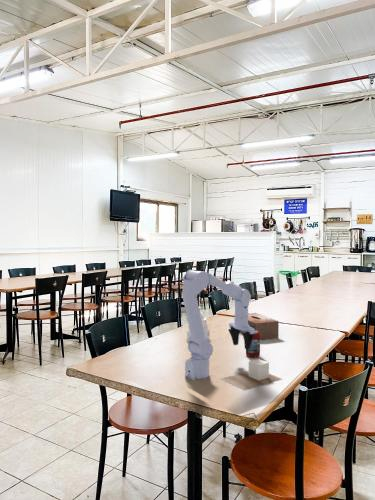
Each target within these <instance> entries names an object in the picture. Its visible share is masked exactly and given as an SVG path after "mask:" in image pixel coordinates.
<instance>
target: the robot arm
mask: <svg viewBox="0 0 375 500" xmlns="http://www.w3.org/2000/svg"><path fill="white" fill-rule="evenodd" d="M182 281H183V283H182V285H183V286H182V291H181V296H182V300H183V306H184V310H185V315H186V318H187V324H188V325H189V328H190V333H191V336H190V337H189V338H188V340H189V341H188V345H187V349H188V351H189V352H190V355H191V357H190V358H188V359H186V360H185V362H184V363H185V364H184V368H185V369H184V371H185V372H184V373H185V374H184V376H185V377H187V378H188V379H191V380H193V381H194V380H199V379H206V378H208V377H209V376H210V359H211V357H212V355H213V352H214V346H213V345H212V344H211V342H210V340H209V338H208V337H207V336H206V335H205V333H204V329H203V324H202V320H201V315H200V311H201V310H200V311H199V307H200V306H199V300H198V295H199V294H200V293H201V292H202V291H203V290H204V289H206V287H207V286H213V287H216V288H218V289H220V290H221V292H222V294H224V295H225V296H228V297H229V298H232V300H233V301H234V322H229V323H228V326H229V327H228V332H229V335H230V336H231V340H232V344H233V346H238V345H239V338H240V337H239V336H240V334H241V333H240V330H241V331H245V332H246V333H242V338H243V342H244V349H245V350H246V349H250V345H251V342H252V339H253V337H254V336H255V329H253V328H251V327H249V325H248V313H249V305H250V301H251V299H252V295H251V293H250V291H249V290H248V289H246V288H242V286H241V285H237V284H235V282H234V281H232V280H229V281H228V280H227V281H224V280H222V279H220V278H218V277H217V276H215V275H213V274H212V273H209V272H207V271H201V270H193V269H188V270H187V271H186V272H185V274H184V275H183V276H182Z"/></svg>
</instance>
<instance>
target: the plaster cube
mask: <svg viewBox="0 0 375 500" xmlns="http://www.w3.org/2000/svg"><path fill="white" fill-rule="evenodd" d="M269 366H270V363H269V362H268V361H266V360H262V359H260V358H258V359H253V360H250V361H248V371H249V377H251V378H254V379H256V380H258V381H259V380H262V379H266V378H269V374H270V371H269V369H270V367H269Z"/></svg>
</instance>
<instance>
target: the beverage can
mask: <svg viewBox="0 0 375 500" xmlns="http://www.w3.org/2000/svg"><path fill="white" fill-rule="evenodd" d="M245 355H246V356H247V357H248V358H258V357H259V356H260V355H261V340H260V334H259V331H257V330H255V336H254V337H253V339H252V342H251V345H250V349H245Z"/></svg>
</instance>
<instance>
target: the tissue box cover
mask: <svg viewBox="0 0 375 500" xmlns="http://www.w3.org/2000/svg"><path fill="white" fill-rule="evenodd" d="M279 322H280V321H279V320H276V319H274V318H271V317H268V316H265V315H263V314H259V313H257V312H248V325H249V327H251V328H253V329H255V330H257V331H259V334H260V341H267V340H273V339H275V340H276V339H279ZM242 333H246V332H245V331H241V330H240V333H239V334H242Z"/></svg>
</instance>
